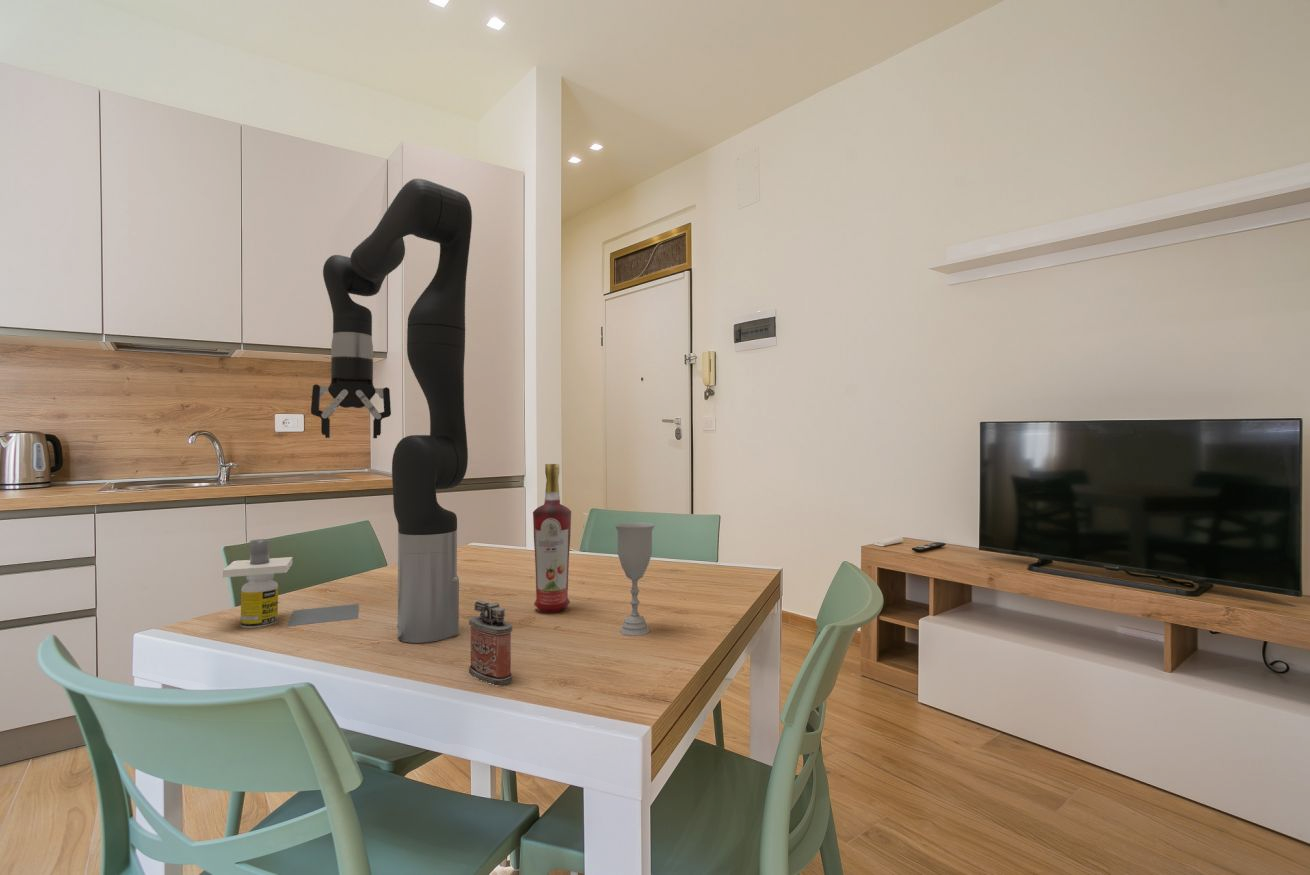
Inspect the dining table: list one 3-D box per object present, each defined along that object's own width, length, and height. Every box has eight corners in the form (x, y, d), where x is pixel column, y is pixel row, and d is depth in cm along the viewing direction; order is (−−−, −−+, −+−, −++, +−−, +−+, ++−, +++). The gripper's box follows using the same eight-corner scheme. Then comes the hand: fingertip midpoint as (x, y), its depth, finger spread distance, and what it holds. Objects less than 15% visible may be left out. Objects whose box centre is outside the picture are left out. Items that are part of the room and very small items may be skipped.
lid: (292, 563, 111) (292, 535, 111) (286, 572, 103) (286, 542, 103) (233, 567, 107) (234, 538, 107) (222, 577, 99) (223, 545, 99)
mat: (358, 606, 117) (358, 603, 117) (358, 621, 107) (358, 618, 107) (293, 613, 112) (293, 610, 112) (286, 629, 102) (286, 626, 102)
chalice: (646, 639, 97) (646, 528, 98) (607, 635, 99) (607, 526, 100) (660, 626, 104) (660, 523, 104) (624, 622, 106) (624, 521, 107)
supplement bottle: (264, 631, 102) (264, 573, 102) (232, 631, 102) (233, 573, 102) (284, 621, 107) (285, 567, 107) (254, 621, 107) (255, 566, 107)
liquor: (572, 604, 119) (572, 463, 119) (569, 614, 112) (570, 464, 112) (535, 605, 118) (535, 463, 119) (530, 615, 111) (530, 464, 112)
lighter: (518, 680, 80) (518, 606, 80) (496, 688, 78) (496, 611, 78) (484, 666, 85) (484, 596, 86) (463, 672, 83) (463, 600, 83)
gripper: (310, 352, 114) (309, 437, 114) (391, 357, 120) (391, 438, 120) (313, 357, 121) (312, 438, 120) (390, 362, 127) (389, 438, 127)
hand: (351, 438), depth 120 cm, fingers open, 8 cm apart
